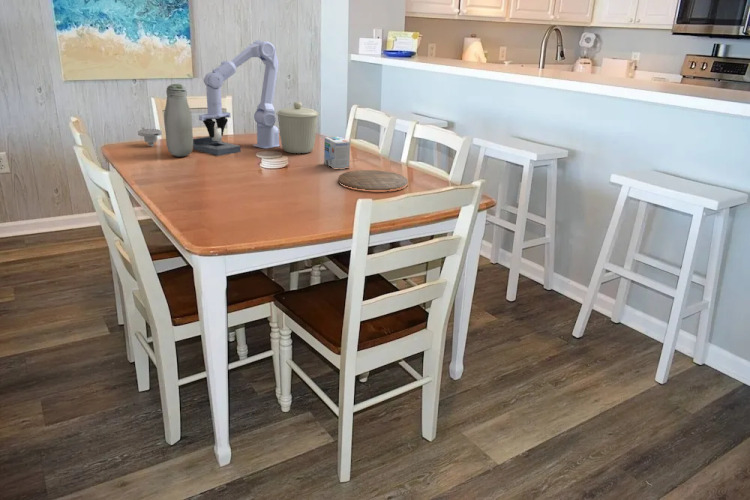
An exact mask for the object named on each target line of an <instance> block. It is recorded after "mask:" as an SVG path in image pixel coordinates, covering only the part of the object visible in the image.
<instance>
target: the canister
mask: <svg viewBox="0 0 750 500" xmlns="http://www.w3.org/2000/svg"><path fill="white" fill-rule="evenodd" d="M275 113H276V115H277V118H278V119H277V121H278V127H279V128H278V130H279V138H280V142H281V144H280V145H281V147H282V149H283V151H284V152H287V153H289V154H296V153H297V155H299V154H301V153H302V154H308V153H310V152H312V151H313V149H314V147H315V143H316V142H315V141H316V134H317V125H318V119H319V118H318V117H319V115H320V113H319V112H317V111H316V110H315V109H312V108H309V107H303V104H302V102H300V101H295V102H293V107H284V108H280V109H279V110H277V111H275Z"/></svg>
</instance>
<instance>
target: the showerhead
mask: <svg viewBox="0 0 750 500" xmlns="http://www.w3.org/2000/svg"><path fill="white" fill-rule="evenodd" d="M162 134H163V133H162V130H160V129H156V128H145V127H144V126H142V128H141V129H139V130H138V131H137V135H138V136H140V137H143V139H144V142H145V143H147V145H148V147H149V146H152V147H155V144H154V143H156V142H157V137H159V136H162Z"/></svg>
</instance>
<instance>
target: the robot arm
mask: <svg viewBox="0 0 750 500" xmlns="http://www.w3.org/2000/svg"><path fill="white" fill-rule="evenodd" d="M276 50H277V49H276V47H275V46H274V45H273V43H271V42H270V41H264V40H263V41H262V40H259V39H257V40H255V41H253V43H250V44H248V46H247V47H246V48H244V49H243V50H242V51H241V52H240V53H238V54H237V55H236V56H235V57H233V59H231V60H225V61H224V60H222V61H221V63H220V64H219V65H218V66H217V67H216V68H213V69H212V70H211V72H207V73H206V74H205V76H204V77H203V83H204V85H205V87H206V105H207V106H206V107H207V113H205V114H201V115H199V116H198V120H199V121H202V122H203V124H204V126H205V128H206V130H207V132H208V137H209V136H210V137H214V127H215V125H216V127H219V128H221V134H222V137H223V135H224V131H225V127H226V125H227V123H228V119H229V118H231V117H232V116H231V112H229V111H227V112H225V111H224V112H223V107H222V88H221V87H222V86H223V85H224V82H225V81H226V80H228V79H229V78H230V77H231V76H233V75H234V74H235V73H237V72H236V71H237V68H238V67H240V66H241V65H242V64H244V63H246V62H247V61H249V60H250V59H251V58H258V59H260V60H261V61H262V62H263V64H264V65H265V68H264V74H263V75H264V76H263V81H262V89H261V97H260V102H259V103H258V105H257V108H256V110H255V112H254V114H253V119H254V121H255V122H256V144H252V147H256V148H260V149H271V148H276V147H277V148H278V147H281V144H280V130H279V128H278V127H277V126H276V125H275V124H276V122H277V121H276V115H275V113H276V110H275V107H274V99H275V93H276V87H277V86H276V85H277V79H278V71H279V64H280V63H279V59H278V55H277V52H276Z"/></svg>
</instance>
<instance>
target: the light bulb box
mask: <svg viewBox="0 0 750 500" xmlns="http://www.w3.org/2000/svg"><path fill="white" fill-rule="evenodd" d="M323 150H324V151H323V153H324V155H323V158H324V160H323V164H324V163H325V165H326V164H327V165H329V166H331V167H333V168H345V167H349V168H350V156H351V155H350V154H351V152H350V151H351V141H349V140H347V139H345V138H343V137H341V136H329V137H327V136H326V137H324V149H323ZM327 165H326V166H327ZM329 166H328V167H329Z"/></svg>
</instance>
